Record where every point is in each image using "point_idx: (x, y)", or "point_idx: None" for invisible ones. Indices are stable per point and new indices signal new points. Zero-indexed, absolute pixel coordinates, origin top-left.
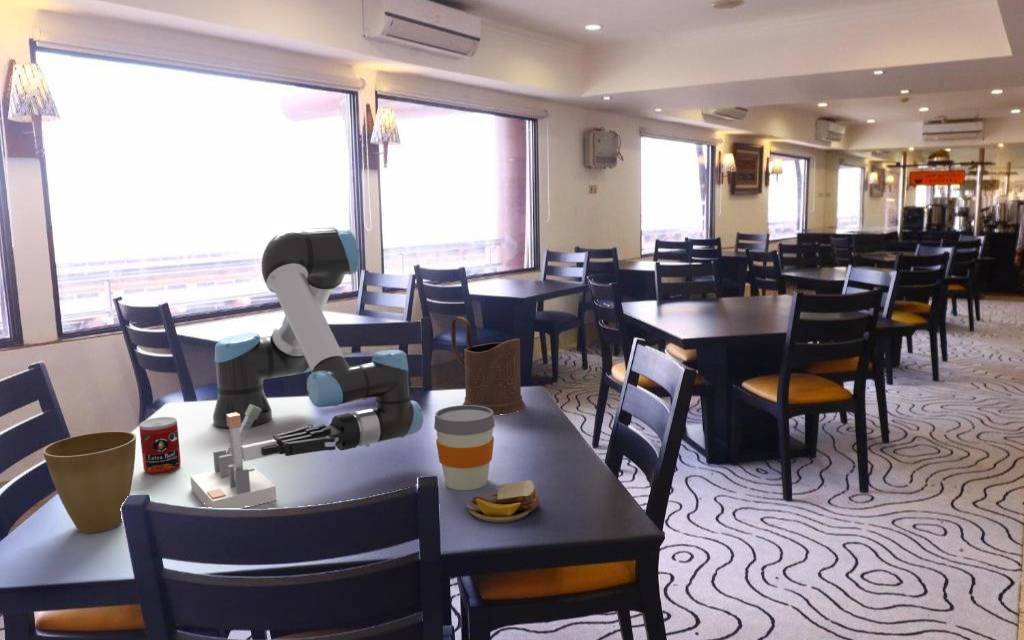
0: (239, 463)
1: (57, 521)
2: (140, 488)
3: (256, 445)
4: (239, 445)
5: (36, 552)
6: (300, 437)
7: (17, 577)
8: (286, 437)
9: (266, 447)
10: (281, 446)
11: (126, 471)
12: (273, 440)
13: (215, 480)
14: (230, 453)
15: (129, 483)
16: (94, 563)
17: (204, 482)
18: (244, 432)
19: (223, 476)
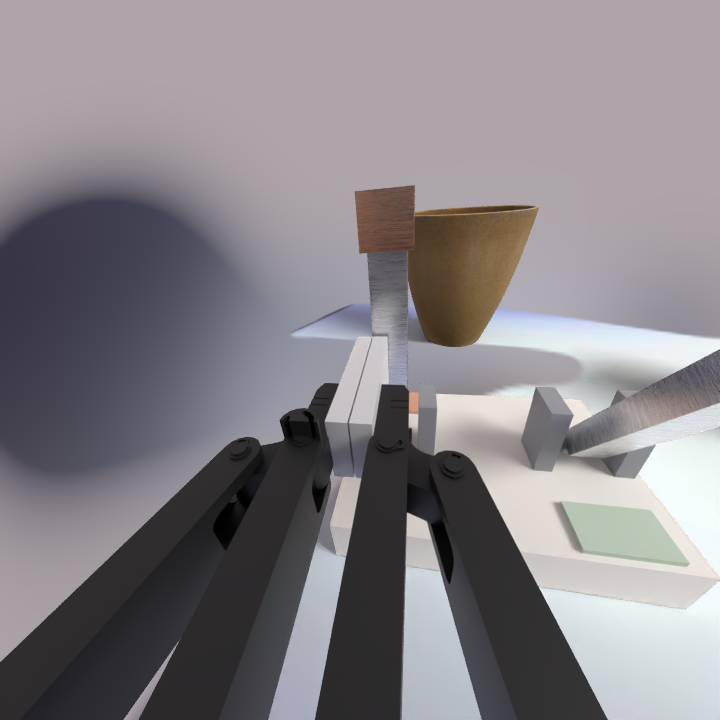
0: None
1: (494, 318)
2: (616, 376)
3: (349, 362)
4: (373, 325)
5: (412, 310)
6: (231, 595)
7: (368, 305)
8: (357, 504)
9: (325, 394)
10: (280, 444)
11: (419, 267)
12: (348, 415)
13: (507, 425)
14: (589, 419)
15: (431, 292)
16: (343, 327)
17: (504, 407)
18: (676, 397)
19: (522, 440)
